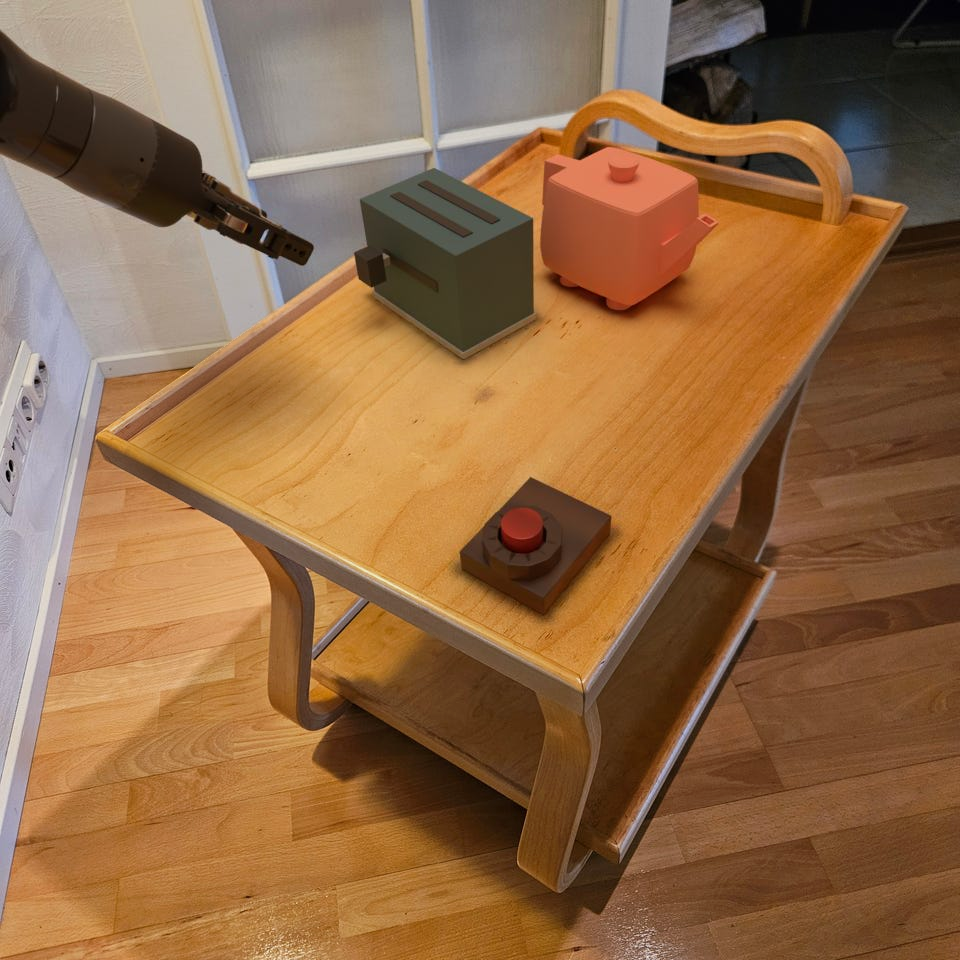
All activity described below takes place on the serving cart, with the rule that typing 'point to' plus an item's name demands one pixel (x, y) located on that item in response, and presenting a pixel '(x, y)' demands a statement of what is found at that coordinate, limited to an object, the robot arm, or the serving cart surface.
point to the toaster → (452, 260)
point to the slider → (371, 266)
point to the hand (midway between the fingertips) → (284, 238)
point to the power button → (522, 530)
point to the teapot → (619, 223)
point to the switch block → (554, 562)
